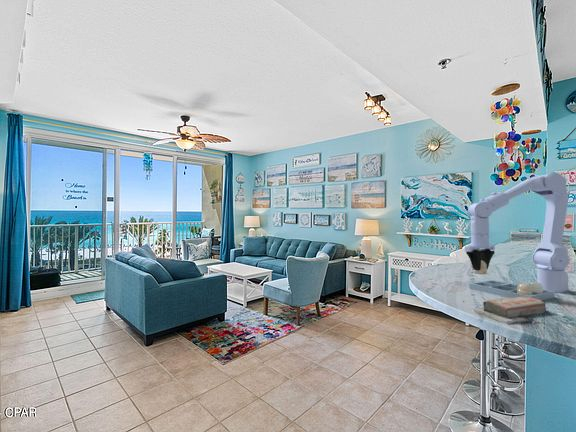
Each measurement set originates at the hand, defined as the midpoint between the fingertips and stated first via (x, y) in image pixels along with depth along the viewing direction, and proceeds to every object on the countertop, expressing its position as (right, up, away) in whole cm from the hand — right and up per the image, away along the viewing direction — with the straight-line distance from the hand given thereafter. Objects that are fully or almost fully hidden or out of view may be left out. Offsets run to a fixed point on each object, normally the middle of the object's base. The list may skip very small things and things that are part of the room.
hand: (480, 269), depth 108 cm
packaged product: (-8, -9, -26) cm, 28 cm away
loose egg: (0, -1, 0) cm, 1 cm away
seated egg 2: (+11, -7, -11) cm, 17 cm away
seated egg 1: (+6, -7, -13) cm, 16 cm away
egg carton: (+6, -8, -6) cm, 12 cm away
